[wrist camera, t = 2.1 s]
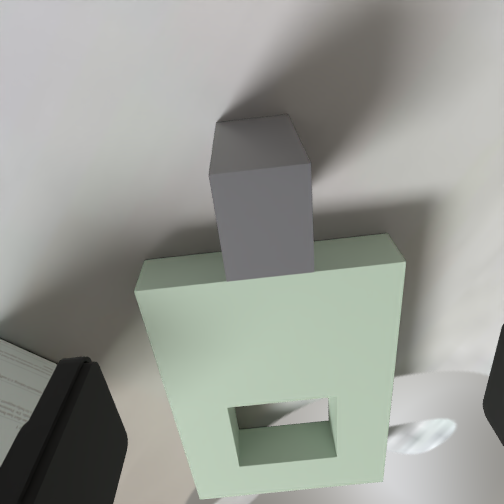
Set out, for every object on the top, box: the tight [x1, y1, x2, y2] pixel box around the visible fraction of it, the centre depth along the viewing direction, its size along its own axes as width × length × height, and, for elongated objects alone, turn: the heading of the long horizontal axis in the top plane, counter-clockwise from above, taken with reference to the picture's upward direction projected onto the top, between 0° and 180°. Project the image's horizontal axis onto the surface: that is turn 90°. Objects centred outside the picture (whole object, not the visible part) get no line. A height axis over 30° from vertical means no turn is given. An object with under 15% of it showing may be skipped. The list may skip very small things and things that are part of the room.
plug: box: [209, 114, 315, 282], centre depth 18 cm, size 4×4×7 cm
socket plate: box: [134, 233, 406, 499], centre depth 28 cm, size 20×14×3 cm
